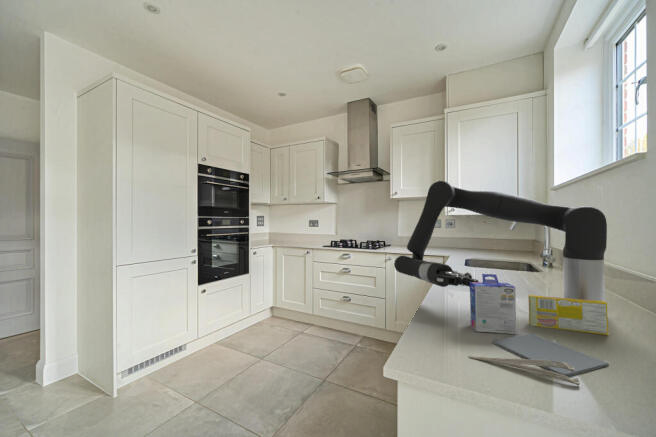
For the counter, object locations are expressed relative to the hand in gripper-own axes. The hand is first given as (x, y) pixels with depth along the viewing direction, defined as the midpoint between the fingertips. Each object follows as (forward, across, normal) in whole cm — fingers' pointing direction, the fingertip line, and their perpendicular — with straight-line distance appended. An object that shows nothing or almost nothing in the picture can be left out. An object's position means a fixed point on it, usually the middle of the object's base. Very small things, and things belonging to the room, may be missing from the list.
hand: (476, 284), depth 77 cm
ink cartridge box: (+5, 0, +11) cm, 12 cm away
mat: (+18, 0, +11) cm, 21 cm away
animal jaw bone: (+21, -12, +11) cm, 26 cm away
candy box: (+11, +19, +11) cm, 25 cm away
